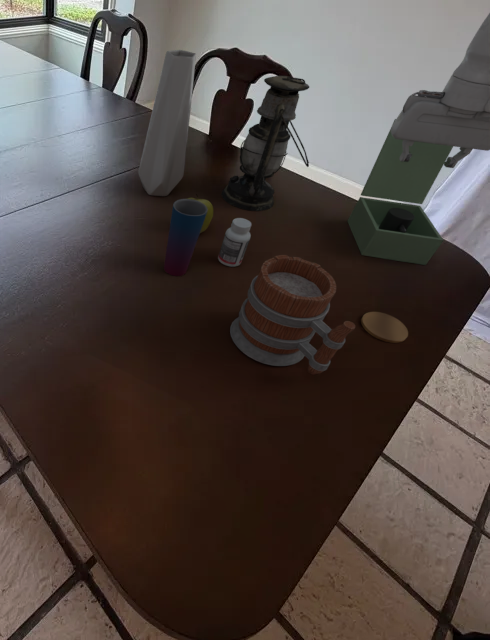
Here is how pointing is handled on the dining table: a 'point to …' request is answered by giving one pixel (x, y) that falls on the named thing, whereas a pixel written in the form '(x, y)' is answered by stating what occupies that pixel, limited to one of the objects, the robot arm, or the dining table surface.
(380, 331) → the coaster
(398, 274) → the dining table surface
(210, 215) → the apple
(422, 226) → the chest
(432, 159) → the lid
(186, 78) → the vase
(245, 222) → the pill bottle
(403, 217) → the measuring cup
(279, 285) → the mug
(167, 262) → the cup
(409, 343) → the dining table surface
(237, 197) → the lantern
